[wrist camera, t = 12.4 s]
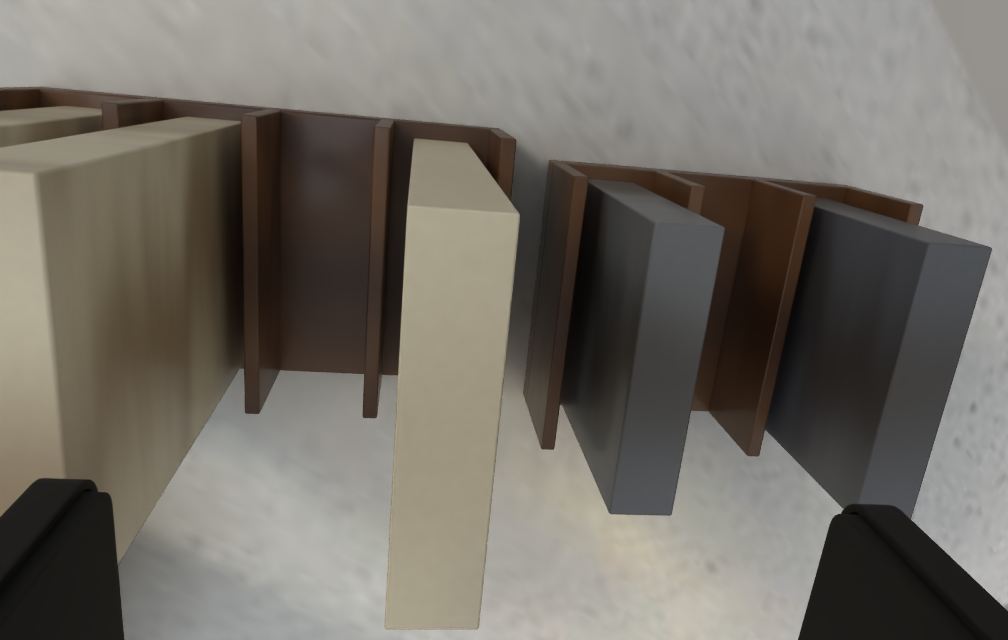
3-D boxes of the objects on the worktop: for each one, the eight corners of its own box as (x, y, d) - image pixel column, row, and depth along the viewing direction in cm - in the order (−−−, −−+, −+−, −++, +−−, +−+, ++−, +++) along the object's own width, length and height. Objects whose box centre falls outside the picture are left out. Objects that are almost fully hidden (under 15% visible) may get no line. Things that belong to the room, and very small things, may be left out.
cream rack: (38, 86, 26) (-493, 98, 11) (500, 128, 28) (594, 187, 13) (62, 351, 29) (-326, 649, 14) (478, 370, 31) (534, 646, 16)
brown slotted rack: (549, 159, 29) (612, 199, 19) (846, 185, 30) (1038, 233, 21) (522, 394, 32) (566, 528, 22) (794, 406, 33) (942, 535, 24)
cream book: (413, 138, 27) (407, 205, 13) (468, 142, 27) (520, 213, 13) (401, 366, 30) (384, 630, 15) (450, 368, 30) (478, 630, 16)
